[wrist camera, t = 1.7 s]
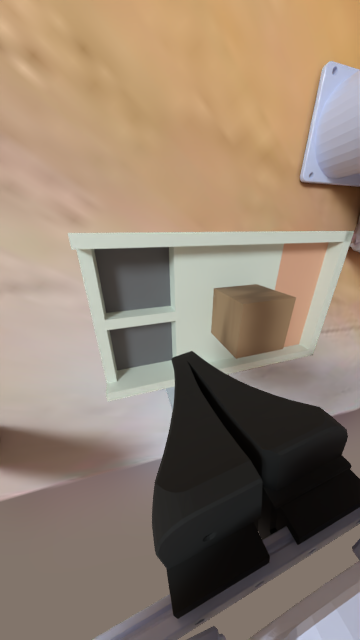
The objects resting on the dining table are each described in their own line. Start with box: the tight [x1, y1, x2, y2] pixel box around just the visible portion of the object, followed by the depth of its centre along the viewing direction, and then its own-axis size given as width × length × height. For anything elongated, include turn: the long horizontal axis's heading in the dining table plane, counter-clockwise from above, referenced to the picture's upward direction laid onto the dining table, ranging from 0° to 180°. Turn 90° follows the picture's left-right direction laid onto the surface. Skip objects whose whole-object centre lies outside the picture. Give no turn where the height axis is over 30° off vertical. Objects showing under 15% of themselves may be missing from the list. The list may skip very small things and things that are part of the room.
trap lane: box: [68, 231, 354, 402], centre depth 20 cm, size 26×15×4 cm, turn 92°
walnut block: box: [211, 284, 296, 359], centre depth 18 cm, size 5×5×5 cm
